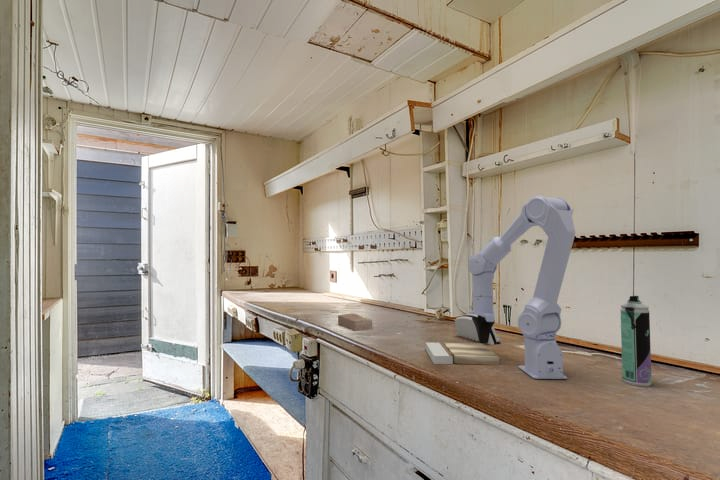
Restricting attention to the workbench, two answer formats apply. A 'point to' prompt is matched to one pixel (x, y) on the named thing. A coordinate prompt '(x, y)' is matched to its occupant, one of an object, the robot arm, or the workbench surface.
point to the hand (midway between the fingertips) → (483, 342)
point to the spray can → (635, 343)
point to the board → (439, 353)
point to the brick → (355, 322)
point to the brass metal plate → (471, 353)
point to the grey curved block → (472, 329)
